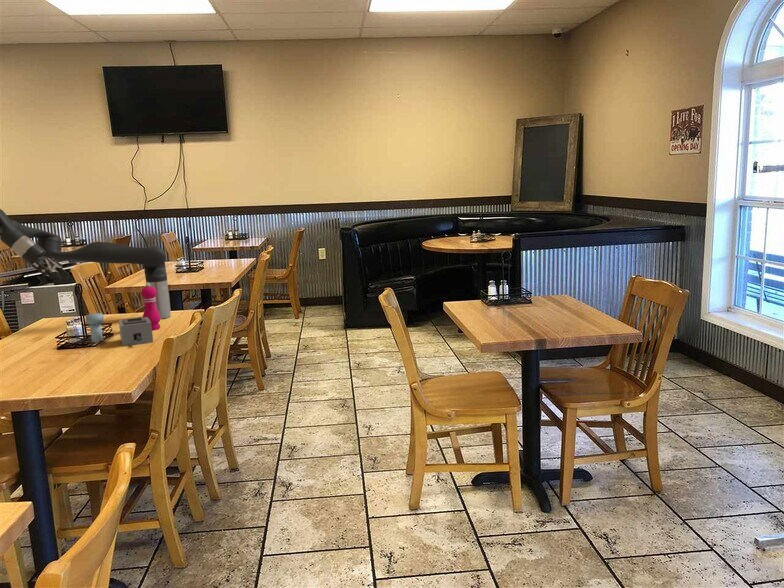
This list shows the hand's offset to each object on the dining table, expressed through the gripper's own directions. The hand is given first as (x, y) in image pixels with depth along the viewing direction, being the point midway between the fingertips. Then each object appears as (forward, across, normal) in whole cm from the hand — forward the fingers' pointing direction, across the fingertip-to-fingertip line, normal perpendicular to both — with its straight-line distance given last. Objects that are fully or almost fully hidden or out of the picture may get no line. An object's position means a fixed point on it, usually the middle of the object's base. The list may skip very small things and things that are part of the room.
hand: (63, 278), depth 244 cm
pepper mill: (+37, -19, 0) cm, 42 cm away
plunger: (+36, +6, +2) cm, 37 cm away
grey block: (+36, +1, -1) cm, 36 cm away
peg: (+26, 0, -12) cm, 28 cm away
